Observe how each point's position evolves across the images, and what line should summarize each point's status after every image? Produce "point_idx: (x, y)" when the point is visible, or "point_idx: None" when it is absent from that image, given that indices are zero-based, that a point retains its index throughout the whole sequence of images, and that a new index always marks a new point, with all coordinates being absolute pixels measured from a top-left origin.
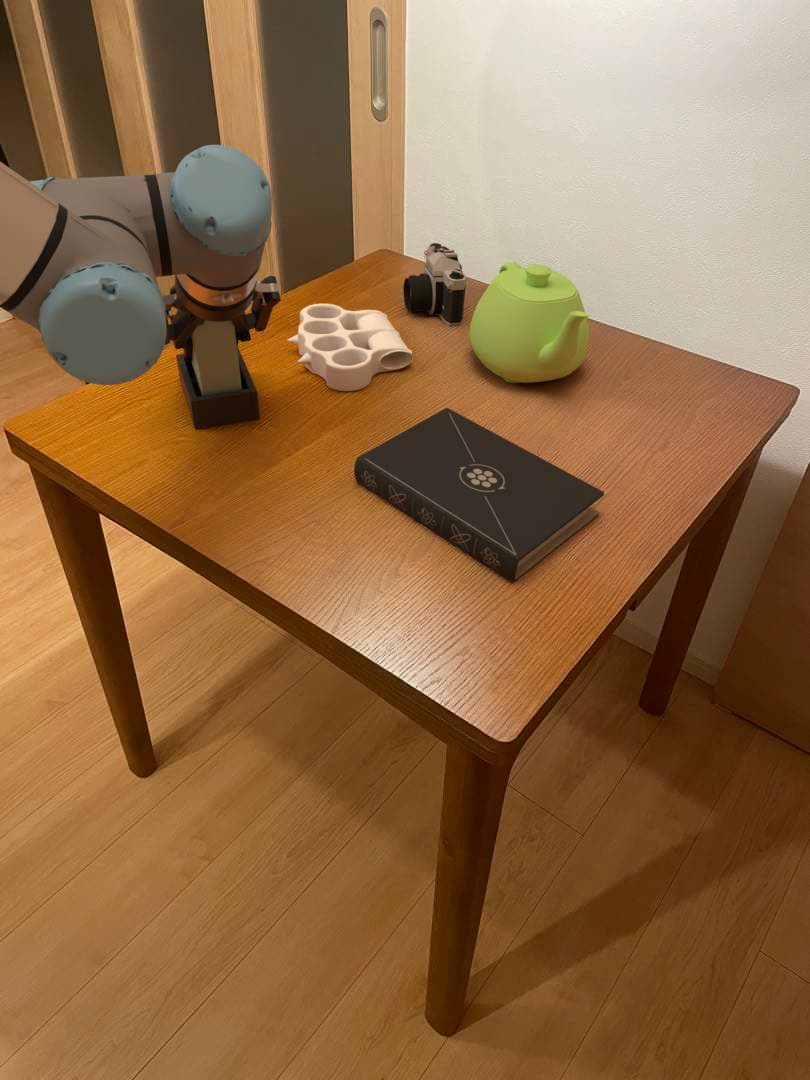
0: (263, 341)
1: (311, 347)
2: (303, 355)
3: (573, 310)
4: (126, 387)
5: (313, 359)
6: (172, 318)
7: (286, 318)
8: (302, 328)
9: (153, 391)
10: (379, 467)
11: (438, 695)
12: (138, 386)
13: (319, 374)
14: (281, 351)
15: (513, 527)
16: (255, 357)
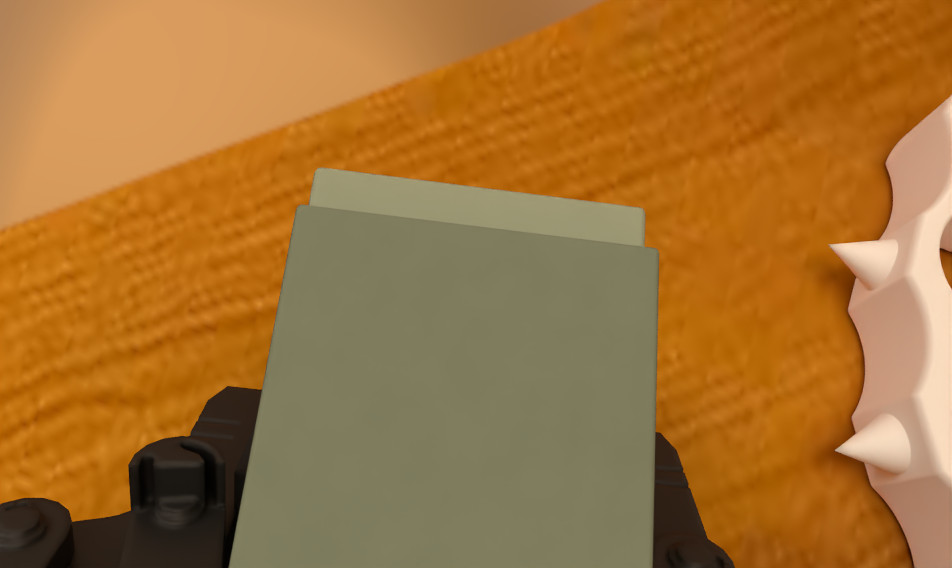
0: (725, 150)
1: (947, 445)
2: (880, 429)
3: None
4: (86, 273)
5: (919, 486)
6: (155, 476)
7: (851, 24)
8: (935, 251)
9: (179, 349)
10: None
11: None
12: (135, 285)
13: (900, 520)
14: (778, 252)
15: None
16: (663, 255)
